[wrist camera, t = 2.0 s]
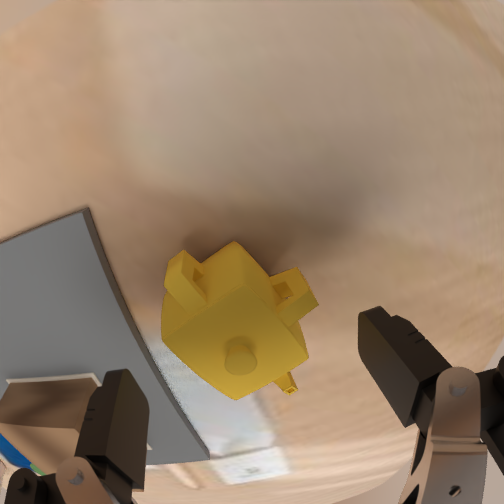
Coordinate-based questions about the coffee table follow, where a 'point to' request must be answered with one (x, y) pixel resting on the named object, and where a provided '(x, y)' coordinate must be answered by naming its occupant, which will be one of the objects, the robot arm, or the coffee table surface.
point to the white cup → (1, 473)
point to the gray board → (80, 327)
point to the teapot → (235, 320)
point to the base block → (46, 419)
